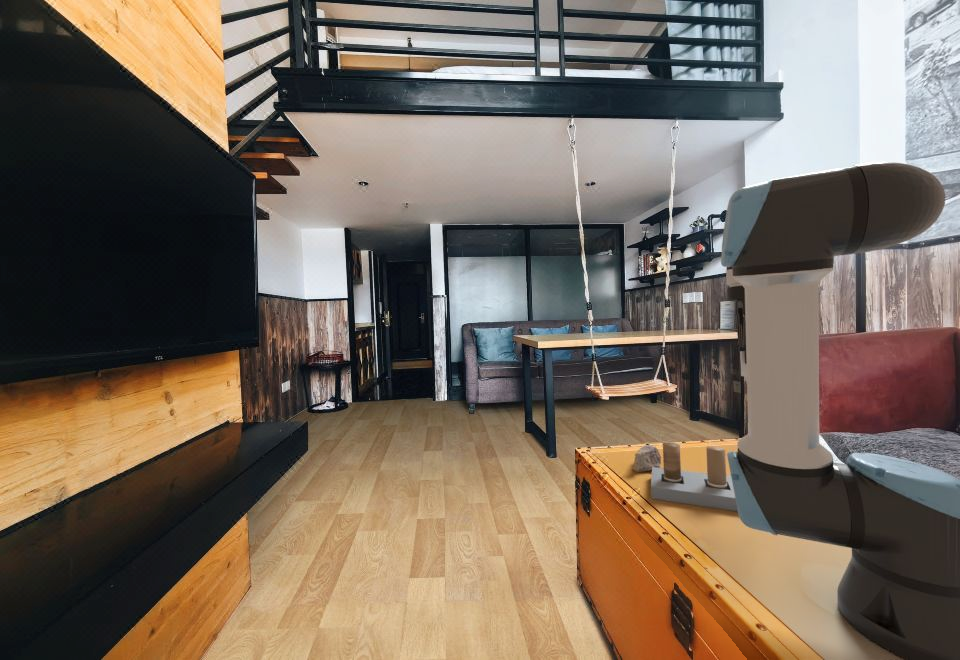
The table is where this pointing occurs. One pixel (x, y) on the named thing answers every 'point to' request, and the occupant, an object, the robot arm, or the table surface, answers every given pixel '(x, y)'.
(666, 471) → the dowel
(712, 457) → the board
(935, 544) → the robot arm
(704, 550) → the table surface
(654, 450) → the mineral specimen
